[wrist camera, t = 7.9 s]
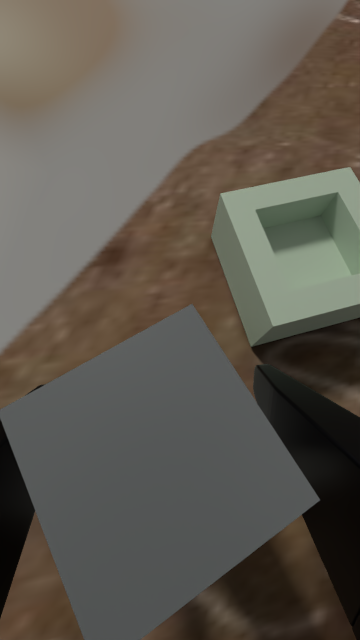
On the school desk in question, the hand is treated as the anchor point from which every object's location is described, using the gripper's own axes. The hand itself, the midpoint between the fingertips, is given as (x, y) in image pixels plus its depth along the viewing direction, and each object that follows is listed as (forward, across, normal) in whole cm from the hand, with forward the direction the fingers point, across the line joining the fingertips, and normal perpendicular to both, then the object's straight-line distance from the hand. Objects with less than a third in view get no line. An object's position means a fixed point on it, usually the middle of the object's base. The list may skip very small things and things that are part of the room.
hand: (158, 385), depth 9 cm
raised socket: (+10, -9, 0) cm, 14 cm away
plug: (+4, 0, +6) cm, 8 cm away
